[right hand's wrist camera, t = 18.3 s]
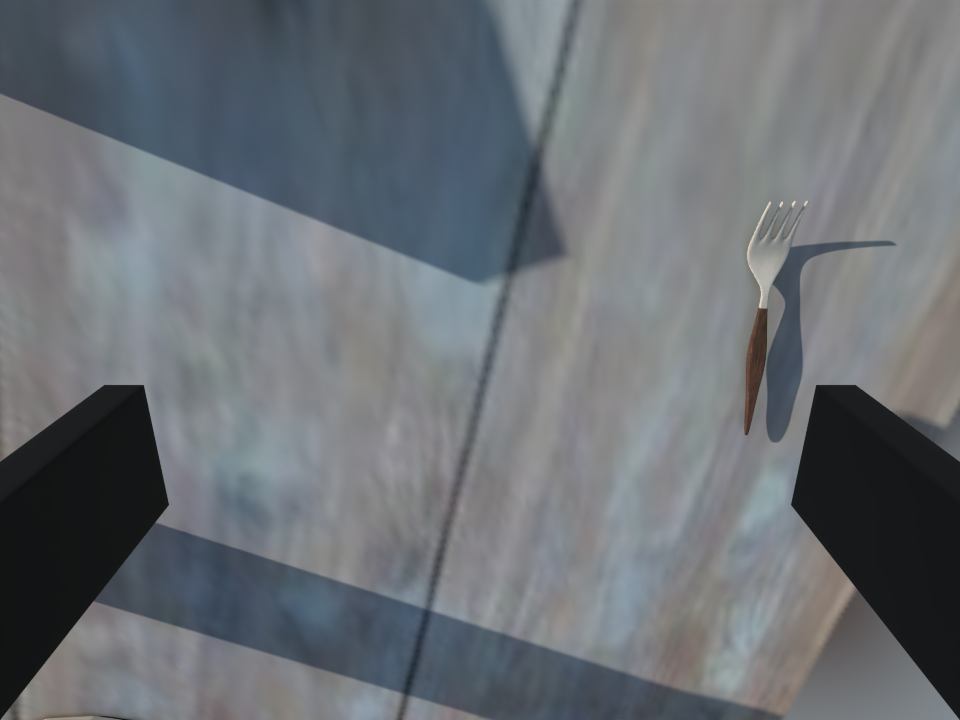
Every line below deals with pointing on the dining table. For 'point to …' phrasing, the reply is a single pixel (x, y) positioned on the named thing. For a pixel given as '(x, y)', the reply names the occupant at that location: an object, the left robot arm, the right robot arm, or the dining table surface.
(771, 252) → the fork
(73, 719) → the wall clock
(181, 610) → the dining table surface
